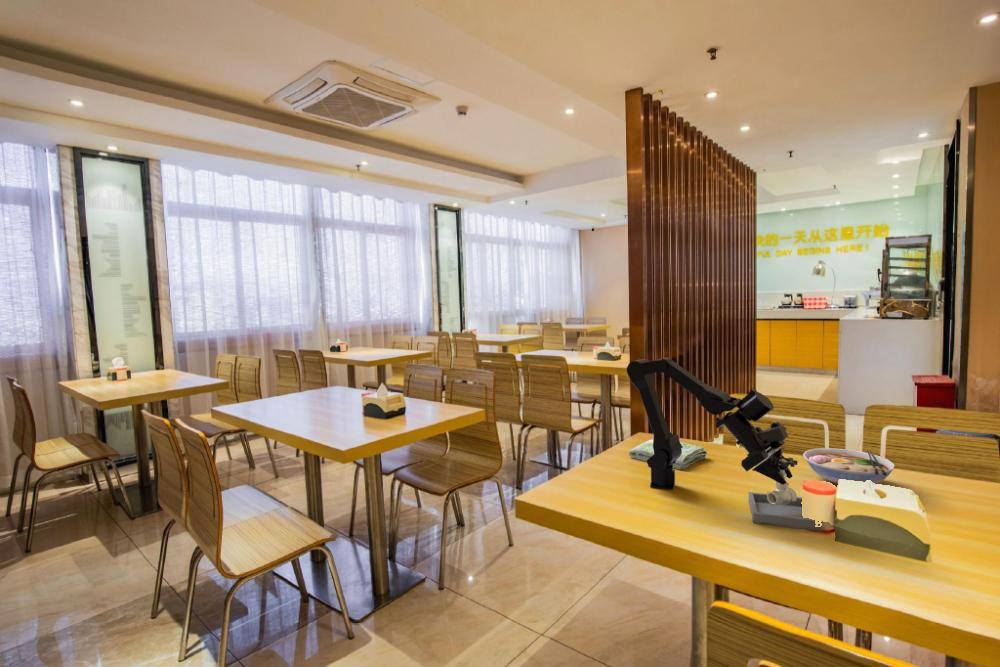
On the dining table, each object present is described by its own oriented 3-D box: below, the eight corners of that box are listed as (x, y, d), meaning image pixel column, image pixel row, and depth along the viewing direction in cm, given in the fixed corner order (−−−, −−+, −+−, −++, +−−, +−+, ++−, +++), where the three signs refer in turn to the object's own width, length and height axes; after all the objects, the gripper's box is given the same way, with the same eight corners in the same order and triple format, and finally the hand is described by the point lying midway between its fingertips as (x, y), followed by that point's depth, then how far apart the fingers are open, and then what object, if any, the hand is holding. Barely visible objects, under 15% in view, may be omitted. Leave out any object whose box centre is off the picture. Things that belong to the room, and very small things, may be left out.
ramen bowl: (802, 465, 170) (803, 441, 169) (888, 475, 158) (888, 450, 158) (802, 490, 149) (802, 463, 148) (901, 505, 137) (902, 475, 136)
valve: (802, 507, 131) (803, 461, 130) (782, 511, 128) (784, 464, 128) (780, 497, 137) (781, 454, 136) (761, 501, 135) (762, 457, 134)
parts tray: (753, 523, 129) (753, 513, 128) (748, 500, 143) (748, 491, 142) (822, 531, 123) (822, 521, 123) (810, 507, 137) (810, 498, 137)
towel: (683, 472, 168) (683, 456, 167) (627, 458, 183) (627, 444, 183) (708, 459, 180) (708, 445, 180) (654, 447, 196) (654, 434, 195)
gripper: (755, 420, 127) (804, 473, 120) (777, 407, 140) (822, 454, 134) (722, 445, 133) (767, 497, 126) (746, 430, 147) (788, 476, 140)
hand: (788, 480), depth 131 cm, fingers closed on valve, 5 cm apart
